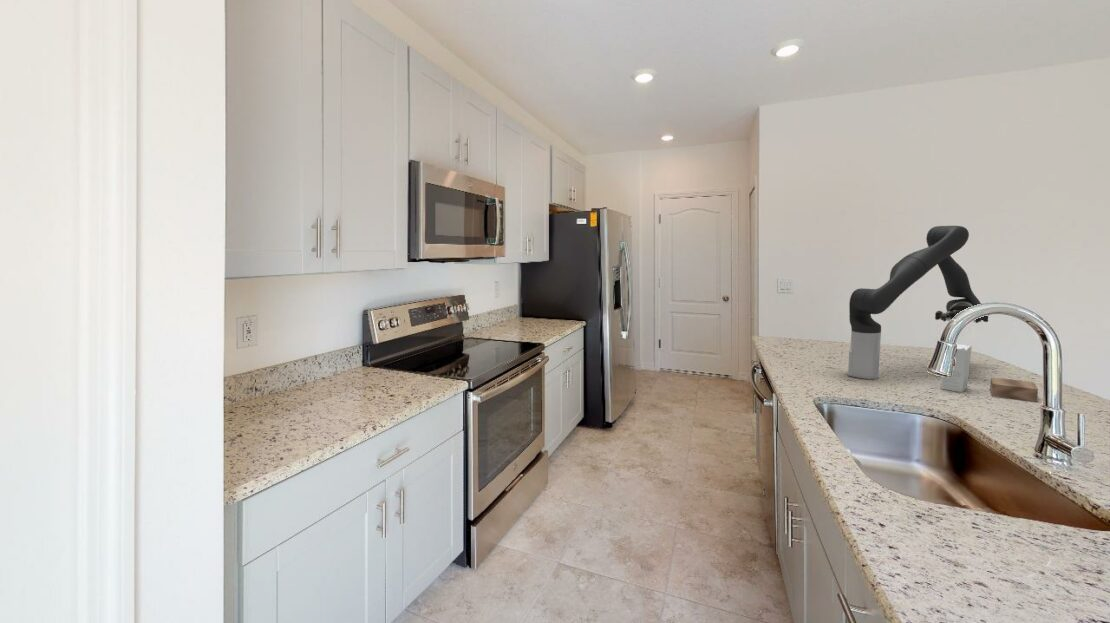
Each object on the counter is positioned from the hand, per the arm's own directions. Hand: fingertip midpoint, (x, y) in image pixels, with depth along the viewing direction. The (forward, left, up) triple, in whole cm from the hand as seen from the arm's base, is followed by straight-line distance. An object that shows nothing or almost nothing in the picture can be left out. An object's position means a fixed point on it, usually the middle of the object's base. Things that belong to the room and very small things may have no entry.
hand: (960, 319), depth 160 cm
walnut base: (+14, -10, -23) cm, 28 cm away
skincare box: (0, -11, -23) cm, 25 cm away
